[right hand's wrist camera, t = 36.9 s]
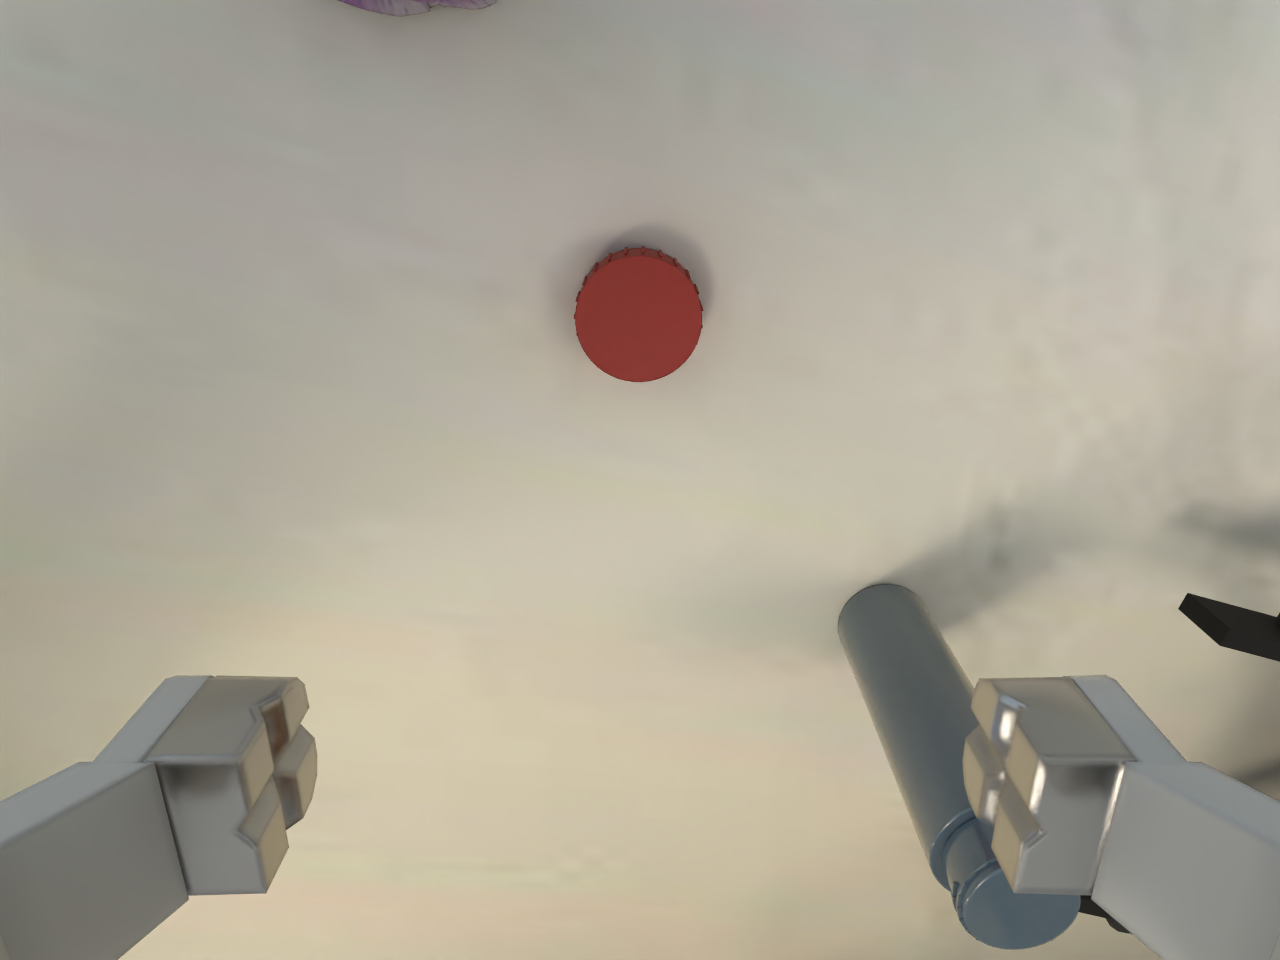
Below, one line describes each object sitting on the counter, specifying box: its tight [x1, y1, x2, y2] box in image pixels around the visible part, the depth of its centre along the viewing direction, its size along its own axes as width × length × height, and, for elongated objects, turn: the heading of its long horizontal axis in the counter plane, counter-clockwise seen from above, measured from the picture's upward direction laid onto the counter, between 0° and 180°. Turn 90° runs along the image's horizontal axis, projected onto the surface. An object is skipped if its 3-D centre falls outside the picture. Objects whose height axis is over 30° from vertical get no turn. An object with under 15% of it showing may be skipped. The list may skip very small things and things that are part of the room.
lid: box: [574, 246, 703, 382], centre depth 35 cm, size 5×5×2 cm
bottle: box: [838, 584, 1081, 950], centre depth 34 cm, size 4×4×16 cm
